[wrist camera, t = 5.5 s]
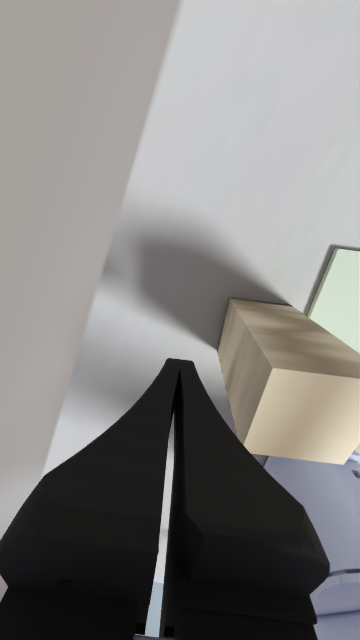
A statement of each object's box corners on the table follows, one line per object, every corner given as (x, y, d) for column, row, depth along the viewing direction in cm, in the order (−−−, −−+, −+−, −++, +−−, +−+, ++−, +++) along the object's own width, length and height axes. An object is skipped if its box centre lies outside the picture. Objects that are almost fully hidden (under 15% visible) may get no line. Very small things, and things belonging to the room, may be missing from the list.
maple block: (291, 305, 16) (403, 384, 7) (272, 357, 18) (343, 464, 9) (229, 297, 16) (272, 367, 7) (217, 350, 18) (240, 452, 9)
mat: (474, 266, 14) (481, 267, 14) (373, 409, 20) (376, 413, 19) (334, 248, 14) (338, 248, 13) (273, 397, 19) (274, 400, 19)
